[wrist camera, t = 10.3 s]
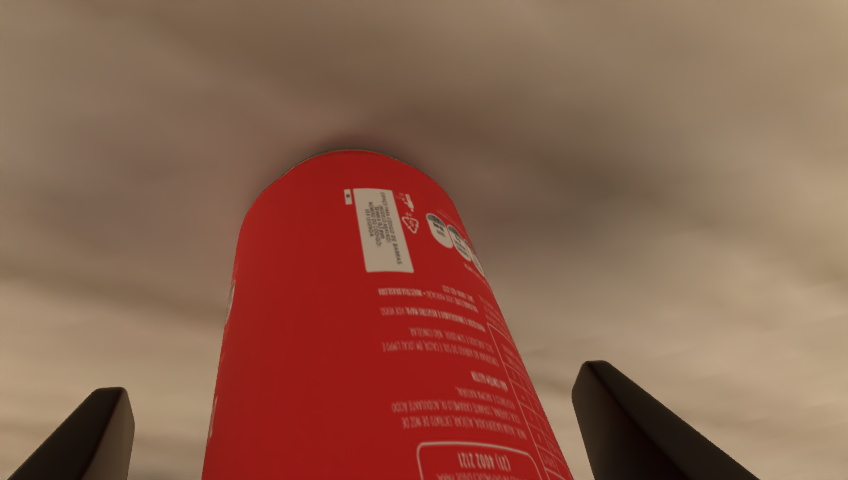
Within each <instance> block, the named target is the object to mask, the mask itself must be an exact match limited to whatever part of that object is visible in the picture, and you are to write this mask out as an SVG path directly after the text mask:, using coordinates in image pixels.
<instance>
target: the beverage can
mask: <svg viewBox="0 0 848 480" xmlns="http://www.w3.org/2000/svg"><path fill="white" fill-rule="evenodd" d="M201 480H574V479H573V477H572V475H571V472H570V470H569V468H568V466H567V463H566V461H565V459H564V456H563V454H562V452H561V449H560V447H559V445H558V442H557V440H556V438H555V436H554V433H553V431H552V429H551V426H550V424H549V422H548V419H547V417H546V415H545V412H544V410H543V408H542V406H541V403H540V401H539V399H538V396H537V394H536V392H535V389H534V387H533V385H532V383H531V380H530V378H529V376H528V373H527V371H526V369H525V366H524V364H523V362H522V359H521V357H520V355H519V353H518V350H517V348H516V346H515V343H514V341H513V339H512V336H511V334H510V332H509V329H508V327H507V325H506V323H505V320H504V318H503V316H502V313H501V311H500V309H499V306H498V304H497V302H496V299H495V297H494V295H493V293H492V290H491V288H490V286H489V283H488V281H487V279H486V276H485V274H484V272H483V269H482V267H481V265H480V263H479V260H478V258H477V256H476V253H475V251H474V249H473V246H472V244H471V242H470V239H469V237H468V235H467V233H466V230H465V228H464V226H463V223H462V221H461V219H460V217H459V214H458V212H457V210H456V208H455V206H454V204H453V202H452V201H451V199H450V198H449V196H448V195H447V194H446V193H445V191H444V190H443V189H442V188H441V187H440V186H439V185H438V184H437V183H436V182H435V181H433V180H432V179H431V178H430V177H428V176H427V175H426V174H424V173H423V172H421V171H419V170H417V169H416V168H414V167H412V166H409V165H407V164H405V163H403V162H401V161H400V160H398V159H396V158H394V157H391V156H389V155H386V154H383V153H380V152H376V151H371V150H365V149H339V150H333V151H328V152H324V153H321V154H317V155H315V156H312V157H310V158H308V159H305V160H303V161H302V162H300V163H298V164H296V165H295V166H293V167H292V168H291V169H289V170H288V171H287V172H285V173H284V174H283V175H282V176H281V177H280V178H279V179H278V180H276V181H275V182H274V183H272V184H271V185H270V186H269V187H268V188H267V189H266V190H265V191H264V192H263V193H262V194H261V195H260V196H259V197H258V198H257V200H256V201H255V202H254V204H253V205H252V206H251V208H250V210H249V211H248V213H247V215H246V217H245V219H244V221H243V224H242V226H241V230H240V233H239V238H238V243H237V249H236V256H235V262H234V269H233V275H232V282H231V289H230V295H229V302H228V308H227V315H226V321H225V328H224V335H223V341H222V348H221V354H220V361H219V367H218V374H217V380H216V387H215V394H214V400H213V407H212V413H211V420H210V426H209V433H208V440H207V446H206V453H205V459H204V466H203V472H202V479H201Z"/></svg>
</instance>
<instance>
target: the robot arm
mask: <svg viewBox="0 0 848 480" xmlns="http://www.w3.org/2000/svg"><path fill="white" fill-rule="evenodd" d="M572 403H573V406H574V410H575V413H576V417H577V420H578V424H579V427H580V431H581V434H582V438H583V441H584V445H585V448H586V452H587V455H588V459H589V462H590V466H591V469H592V472H593V475H594V478H595V480H760V479H758V478H757V477H756V476H754V475H753V474H752V473H751V472H749V471H748V470H747V469H745V468H744V467H743V466H742V465H740V464H739V463H738V462H736V461H735V460H734V459H732V458H731V457H730V456H729V455H727V454H726V453H725V452H723V451H722V450H721V449H720V448H718V447H717V446H716V445H714V444H713V443H712V442H711V441H709V440H708V439H707V438H705V437H704V436H703V435H702V434H700V433H699V432H698V431H696V430H695V429H694V428H692V427H691V426H690V425H689V424H687V423H686V422H685V421H683V420H682V419H681V418H680V417H678V416H677V415H676V414H674V413H673V412H672V411H671V410H669V409H668V408H667V407H665V406H664V405H663V404H661V403H660V402H659V401H658V400H656V399H655V398H654V397H652V396H651V395H650V394H649V393H647V392H646V391H645V390H643V389H642V388H641V387H640V386H638V385H637V384H636V383H634V382H633V381H632V380H631V379H629V378H628V377H627V376H625V375H624V374H623V373H621V372H620V371H619V370H618V369H616V368H615V367H614V366H612V365H611V364H610V363H608V362H606V361H603V360H597V361H586V362H585V363H583V364H582V366H581V369H580V371H579V374H578V376H577V379H576V381H575V384H574V386H573V389H572ZM134 431H135V422H134V417H133V413H132V409H131V405H130V401H129V397H128V393H127V391H126V389H125V388H123V387H110V388H99V389H96V390H95V391H93V392H92V393H91V394H90V395H89V396H88V397H87V398H86V399H85V400H84V401H83V402H82V403H81V404H80V405H79V406H78V407H77V408H76V409H75V411H74V412H73V413H72V414H71V415H70V416H69V417H68V418H67V419H66V420H65V421H64V422H63V423H62V424H61V425H60V426H59V427H58V428H57V429H56V430H55V431H54V432H53V433H52V434H51V435H50V436H49V437H48V438H47V439H46V440H45V441H44V442H43V443H42V444H41V445H40V447H39V448H38V449H37V450H36V451H35V452H34V453H33V454H32V455H31V456H30V457H29V458H28V459H27V460H26V461H25V462H24V463H23V464H22V465H21V466H20V467H19V468H18V469H17V470H16V471H15V472H14V473H13V474H12V475H11V476H10V477H9V478H8V479H7V480H127V475H128V469H129V463H130V457H131V451H132V445H133V438H134Z"/></svg>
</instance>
